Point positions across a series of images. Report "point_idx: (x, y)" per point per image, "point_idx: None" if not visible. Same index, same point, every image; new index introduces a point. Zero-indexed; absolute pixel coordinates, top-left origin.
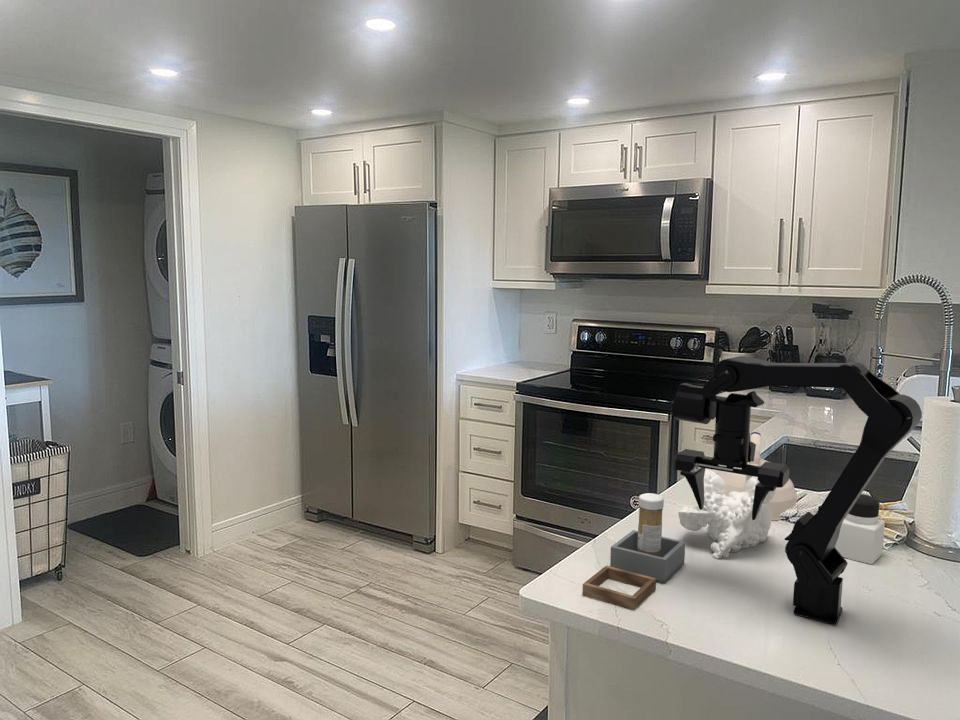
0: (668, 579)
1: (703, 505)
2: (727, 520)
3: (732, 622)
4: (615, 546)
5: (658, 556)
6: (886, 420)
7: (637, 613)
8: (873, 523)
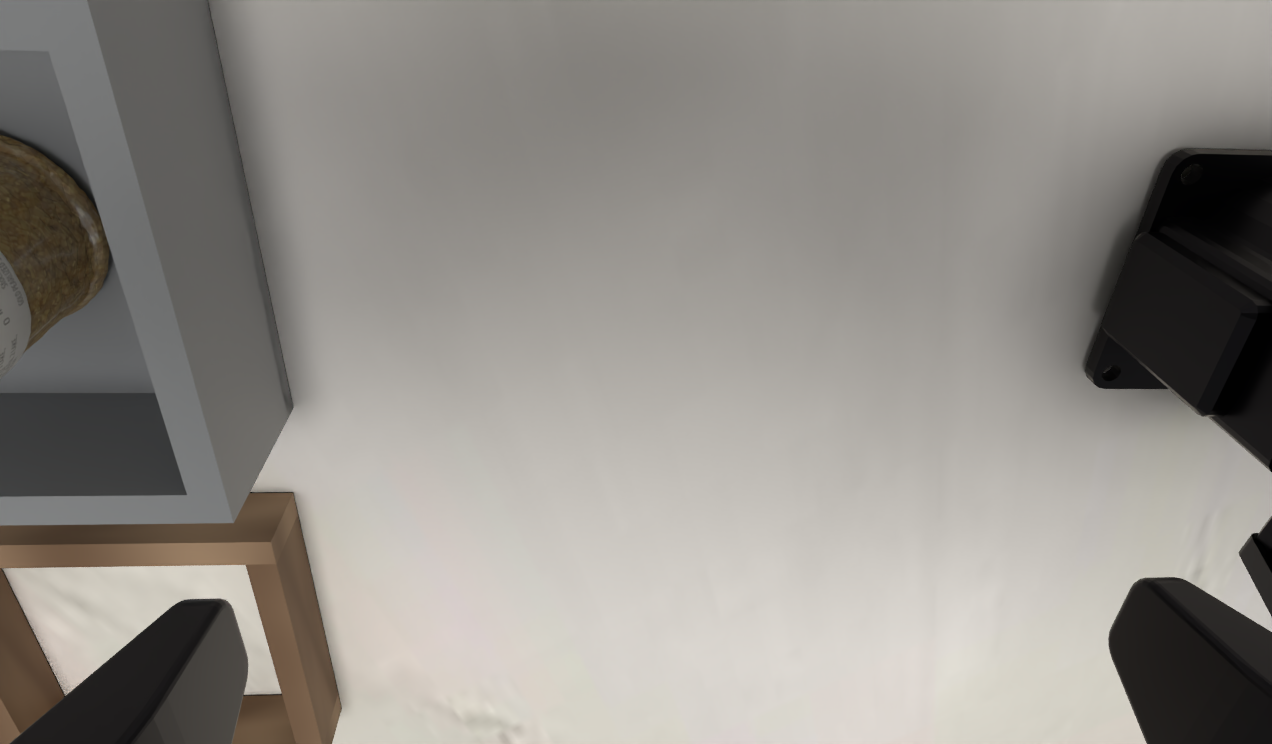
0: (278, 344)
1: (207, 644)
2: None
3: (775, 591)
4: None
5: (56, 287)
6: None
7: (368, 719)
8: None
